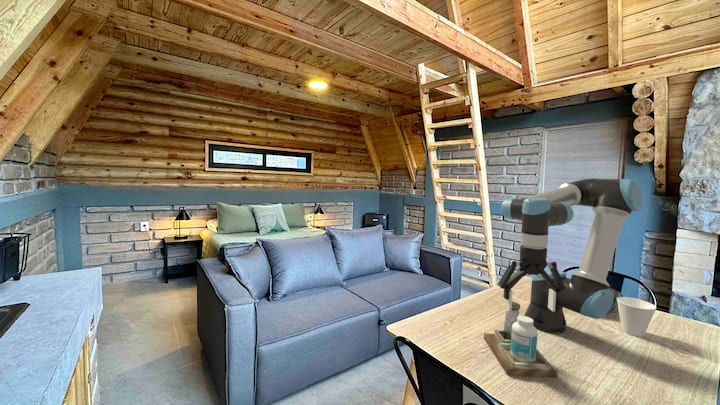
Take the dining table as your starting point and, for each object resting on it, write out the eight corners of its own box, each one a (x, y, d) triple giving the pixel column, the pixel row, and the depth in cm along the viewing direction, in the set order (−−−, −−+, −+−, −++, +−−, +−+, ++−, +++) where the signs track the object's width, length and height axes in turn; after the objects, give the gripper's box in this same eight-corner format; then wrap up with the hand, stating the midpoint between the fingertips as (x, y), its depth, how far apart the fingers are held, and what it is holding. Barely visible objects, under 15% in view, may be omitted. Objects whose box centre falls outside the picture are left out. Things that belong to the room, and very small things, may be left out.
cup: (652, 332, 122) (656, 303, 121) (653, 343, 113) (657, 312, 112) (614, 322, 130) (617, 294, 129) (612, 332, 121) (615, 302, 120)
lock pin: (513, 337, 111) (517, 302, 109) (517, 344, 107) (522, 307, 105) (500, 336, 112) (504, 300, 110) (504, 343, 108) (508, 306, 106)
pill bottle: (525, 350, 103) (529, 313, 102) (540, 364, 96) (544, 324, 94) (505, 351, 102) (508, 313, 101) (518, 365, 95) (521, 324, 94)
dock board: (524, 340, 113) (525, 330, 113) (556, 378, 92) (558, 365, 92) (483, 338, 114) (484, 328, 114) (506, 374, 93) (507, 362, 93)
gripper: (566, 243, 99) (562, 304, 102) (489, 242, 101) (487, 303, 103) (581, 249, 92) (576, 315, 94) (498, 248, 93) (495, 313, 96)
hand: (529, 309), depth 99 cm, fingers open, 13 cm apart
